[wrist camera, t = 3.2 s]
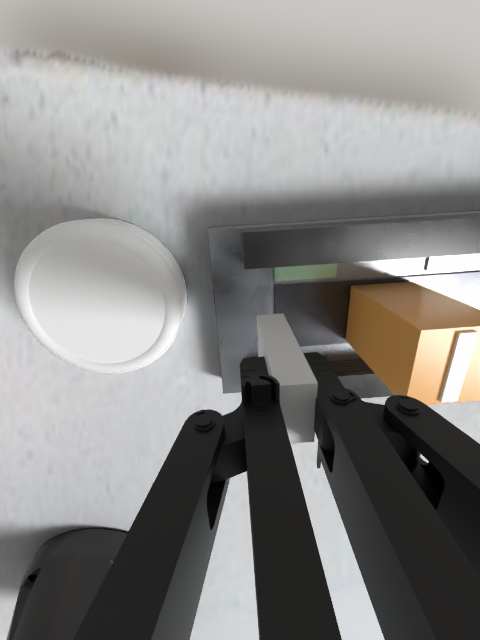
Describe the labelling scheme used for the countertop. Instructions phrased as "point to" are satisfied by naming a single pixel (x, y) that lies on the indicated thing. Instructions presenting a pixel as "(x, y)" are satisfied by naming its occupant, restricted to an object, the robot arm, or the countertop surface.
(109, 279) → the coaster
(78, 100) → the countertop surface
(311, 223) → the panel
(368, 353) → the lever
